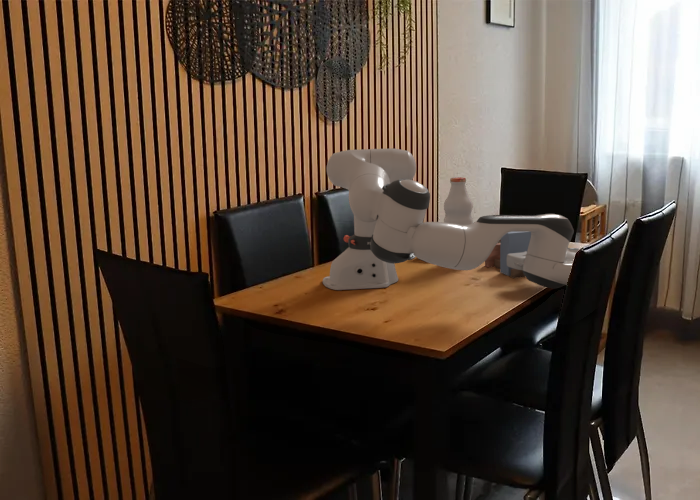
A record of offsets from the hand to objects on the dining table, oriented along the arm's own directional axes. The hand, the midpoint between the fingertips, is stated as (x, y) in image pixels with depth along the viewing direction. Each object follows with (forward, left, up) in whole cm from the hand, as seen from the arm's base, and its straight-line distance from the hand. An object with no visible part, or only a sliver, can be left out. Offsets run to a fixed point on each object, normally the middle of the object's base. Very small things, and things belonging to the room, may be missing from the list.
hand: (528, 253), depth 204 cm
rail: (0, +11, -8) cm, 13 cm away
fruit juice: (-10, +26, -8) cm, 29 cm away
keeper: (0, +7, -8) cm, 10 cm away
